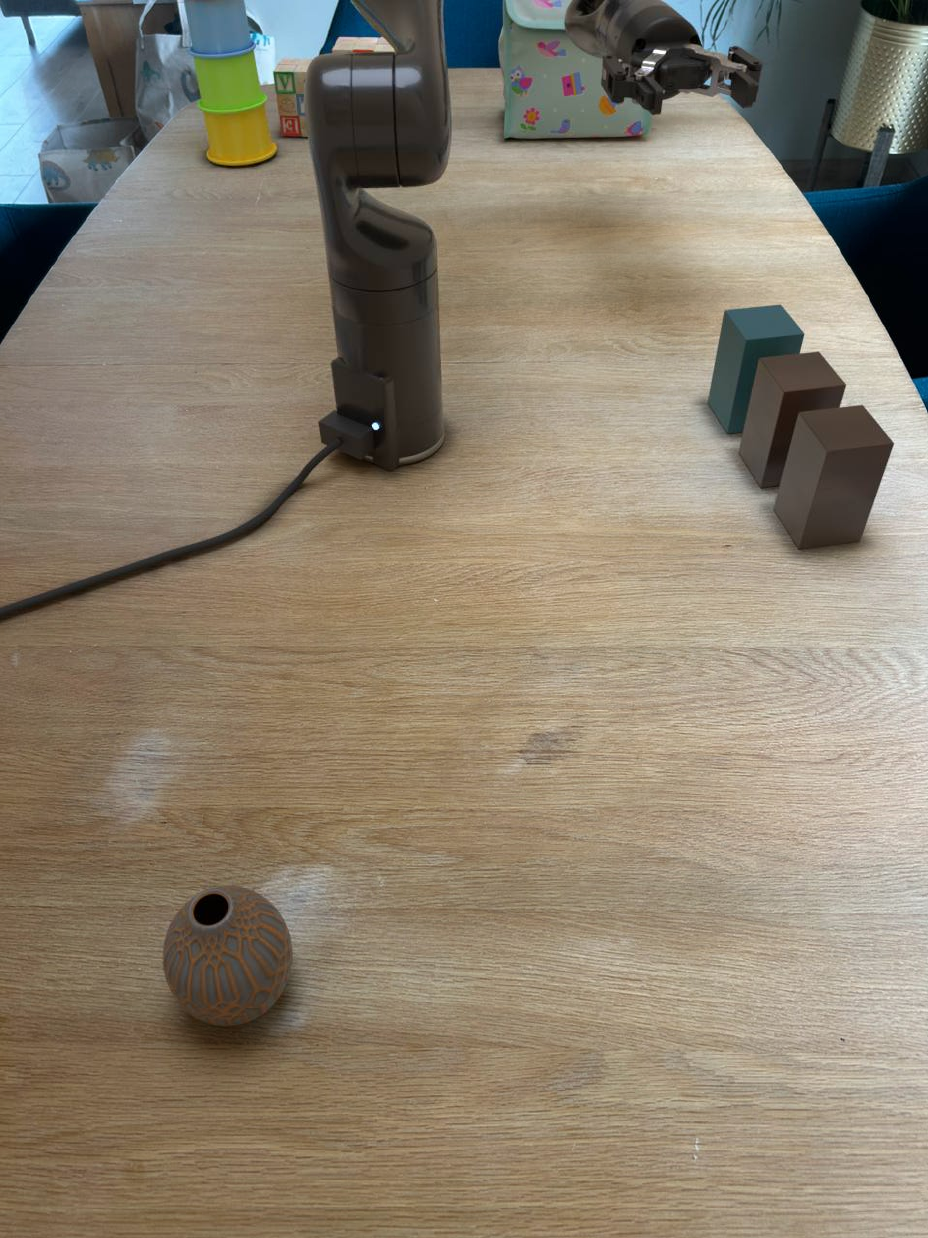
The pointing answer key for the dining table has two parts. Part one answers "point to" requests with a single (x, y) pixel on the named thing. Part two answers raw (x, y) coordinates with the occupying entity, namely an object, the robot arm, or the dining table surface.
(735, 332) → the teal block
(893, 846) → the dining table surface
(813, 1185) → the dining table surface
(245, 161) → the stacking cups
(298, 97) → the stack of blocks
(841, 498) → the walnut block front
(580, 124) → the lunch bag
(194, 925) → the vase
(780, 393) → the walnut block middle
